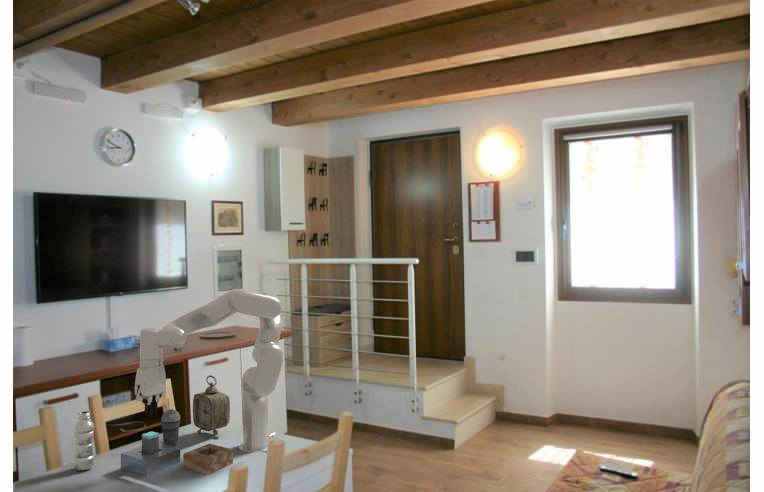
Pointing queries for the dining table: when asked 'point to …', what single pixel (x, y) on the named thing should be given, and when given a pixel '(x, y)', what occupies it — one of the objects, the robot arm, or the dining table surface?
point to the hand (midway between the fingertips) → (151, 414)
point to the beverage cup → (170, 426)
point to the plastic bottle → (84, 442)
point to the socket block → (150, 460)
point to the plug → (150, 443)
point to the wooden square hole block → (208, 459)
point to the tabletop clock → (211, 409)
